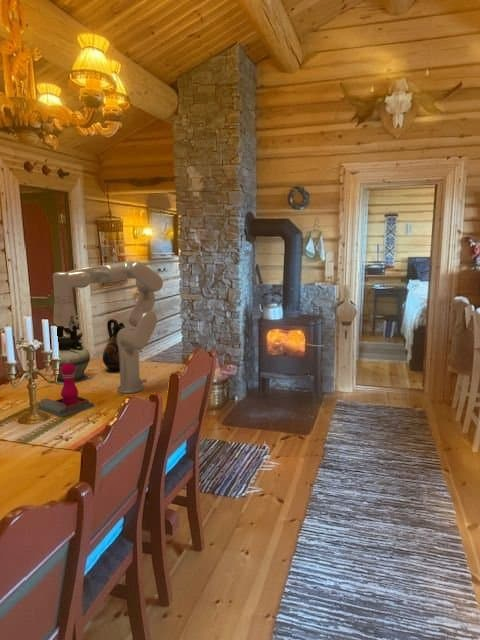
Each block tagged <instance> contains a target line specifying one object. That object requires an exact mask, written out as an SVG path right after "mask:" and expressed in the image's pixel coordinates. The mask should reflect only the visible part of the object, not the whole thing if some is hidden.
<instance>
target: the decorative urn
mask: <svg viewBox="0 0 480 640" xmlns="http://www.w3.org/2000/svg"><path fill="white" fill-rule="evenodd" d="M75 315H76V319H77V320H78V318H79V315H77V314H75ZM80 325H81V322H79V325H78V328H77V329H78V330H77V339H75V340H70V331H71V330H70V328H69V327H63V326H62V328H63V335H64V336H63V337H60V338H58V342H59V356H60V358H61V359H62V360H61V362H60V365H59V374H57V376H58V377H57V382H56V384H60V385H61V384H62V385H64V378H63V373H62V372H61V367H62V365H63V364H65V363H66V360H69V361H70V363H72V364H74V366H75V371H74V383H76V382H77V383H78V382H82V381H83V380H84V381H85V380H87V379H91V378H92V376H91V375H88V374H87V375H86V374H85V371H86V370H87V367H88V365H89V363H90V361H91V360H90V358H91V353H90V352H89V350H88V349H87V348H86V347H85V346H84V345H83V339H82V337H83V331H82V329H81V328H80ZM53 326H55V325H54V324H53ZM72 328H73V326H72ZM48 380H49V381H50V382H52V381H53V377H50V378H48Z"/></svg>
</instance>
